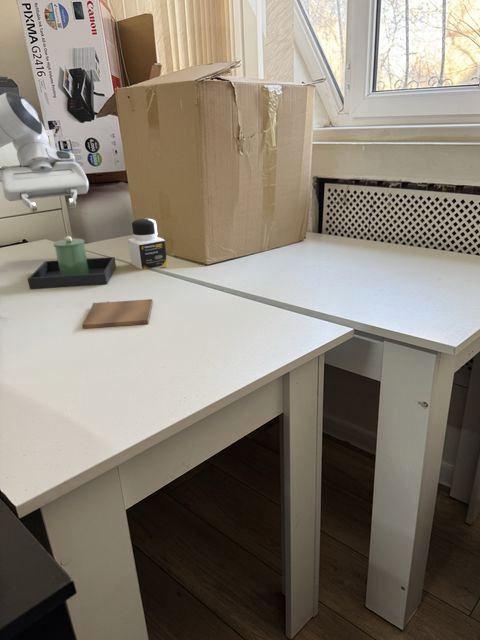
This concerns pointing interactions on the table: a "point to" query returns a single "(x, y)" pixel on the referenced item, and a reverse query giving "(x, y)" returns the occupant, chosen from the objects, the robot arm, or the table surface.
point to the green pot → (71, 256)
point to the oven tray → (51, 275)
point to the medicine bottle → (146, 245)
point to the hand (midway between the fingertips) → (54, 208)
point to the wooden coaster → (118, 313)
